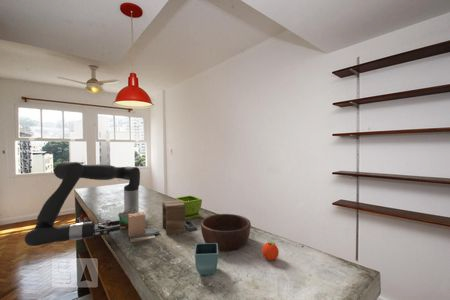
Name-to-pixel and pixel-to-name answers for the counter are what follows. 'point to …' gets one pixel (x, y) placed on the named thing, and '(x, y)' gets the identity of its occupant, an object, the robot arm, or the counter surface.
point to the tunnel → (173, 216)
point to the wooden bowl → (226, 231)
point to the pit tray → (190, 225)
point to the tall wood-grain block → (139, 226)
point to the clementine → (270, 251)
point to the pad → (141, 238)
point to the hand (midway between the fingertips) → (119, 225)
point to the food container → (125, 218)
